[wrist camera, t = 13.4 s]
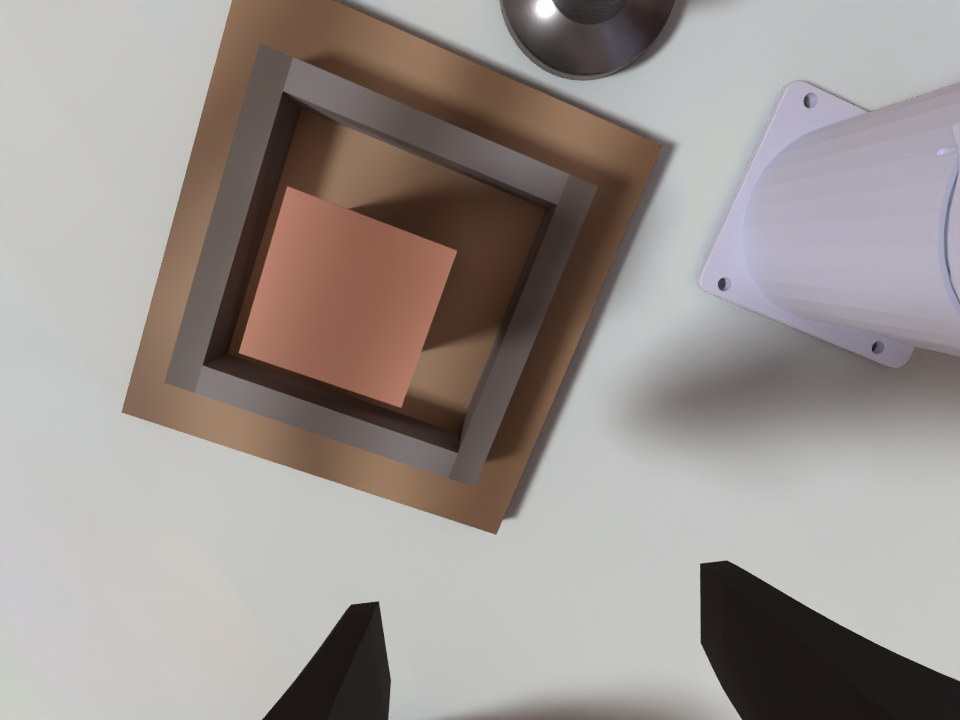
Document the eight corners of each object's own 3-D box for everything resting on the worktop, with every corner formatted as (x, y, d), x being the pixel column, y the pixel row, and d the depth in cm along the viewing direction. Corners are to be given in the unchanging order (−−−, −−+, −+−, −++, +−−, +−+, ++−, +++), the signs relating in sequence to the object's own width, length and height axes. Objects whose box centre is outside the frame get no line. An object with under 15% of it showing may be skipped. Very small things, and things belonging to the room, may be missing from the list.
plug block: (455, 249, 19) (457, 250, 12) (418, 352, 20) (401, 407, 13) (348, 209, 19) (287, 186, 12) (314, 315, 19) (238, 353, 12)
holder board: (651, 150, 20) (686, 133, 17) (494, 522, 22) (500, 563, 19) (254, -25, 18) (215, -78, 15) (137, 404, 21) (85, 430, 18)
